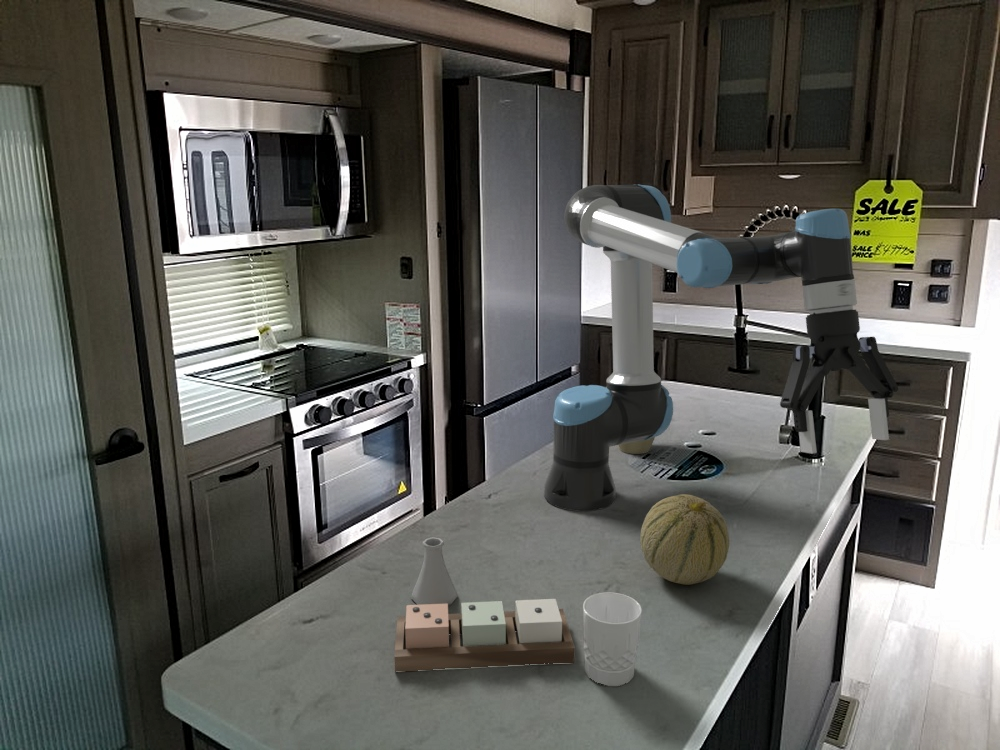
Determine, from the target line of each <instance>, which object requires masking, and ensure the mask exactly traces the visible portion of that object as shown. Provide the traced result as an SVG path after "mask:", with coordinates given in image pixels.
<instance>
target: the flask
mask: <svg viewBox="0 0 1000 750" xmlns="http://www.w3.org/2000/svg"><path fill="white" fill-rule="evenodd" d="M444 545H445V542H444V540H443V539H442V538H439V537H433V536H432V537H428V538H426V539H425V540H423V541H422V546H423V548H424V557H423V563H422V566H421V568H420V569H421V570H420V572H419V575H418V578H417V580H416V583H415V585H414V587H413V590H412V592H411V593H412V594H411V596H410V598H411V600H412V601H413V602H415V605H423V604H446V603H448V606H450V605H452V604H453V602H454V601H455V600H456V599H457V598H458V596H459V594H458V592H457V588H456V587H455V585H454V583H453V580H452V578H451V576H450V573H449V571H448V568H447V565H446V564H445V559H444V555H443V546H444Z"/></svg>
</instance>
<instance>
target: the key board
mask: <svg viewBox="0 0 1000 750" xmlns="http://www.w3.org/2000/svg"><path fill="white" fill-rule="evenodd" d="M558 609H559V612H560V616H561V619H562V641H559V642H538V643H518V641H517V636H516V632H515V631H517V626H516V621H515V610H509V611H504V616H505V623H506V644H496V645H476V646H461V636H460V635H462V615H461V613H460V612H459V613H448V623H449V634H451V635H450V645H451V646H449V647H434V648H413V649H406V648H405V647H406V635H405V625H406V615H399V616H397V618H396V619H397V620H396V631H395V632H396V634H395V642H394V643H395V644H394V658H393V659H394V673H395V672H396V671H418V670H433V669H445V668H471V667H488V666H508V665H525V664H529V665H530V664H544V663H545V664H548V663H549V664H553V663H574V664H575V652H576V651H575V649H576V647H575V644H574V642H573V639H572V634H571V632H570V628H569V625H568V621H567V618H566V616H565V612H564V609H563V608H558ZM404 646H405V647H404ZM418 672H419V671H418Z"/></svg>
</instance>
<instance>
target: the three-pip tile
mask: <svg viewBox="0 0 1000 750" xmlns="http://www.w3.org/2000/svg"><path fill="white" fill-rule="evenodd" d="M448 614H449V605H448V603H446V604H423V605H417V604H407V605H406V609H405V616H406V625H405V635H406V637H405V649H423V648H443V647H450V641H449V640H450V635H449V623H448Z"/></svg>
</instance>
